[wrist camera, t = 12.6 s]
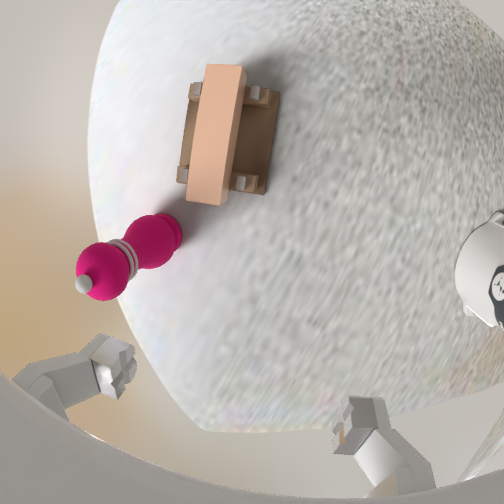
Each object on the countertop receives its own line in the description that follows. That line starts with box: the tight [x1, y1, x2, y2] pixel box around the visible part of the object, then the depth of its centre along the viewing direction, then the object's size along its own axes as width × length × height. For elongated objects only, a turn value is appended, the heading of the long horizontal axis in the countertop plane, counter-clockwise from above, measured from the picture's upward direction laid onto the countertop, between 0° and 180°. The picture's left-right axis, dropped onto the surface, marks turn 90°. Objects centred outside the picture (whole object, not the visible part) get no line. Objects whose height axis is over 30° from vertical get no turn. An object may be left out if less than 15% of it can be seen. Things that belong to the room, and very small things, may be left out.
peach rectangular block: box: [185, 64, 248, 206], centre depth 30 cm, size 4×16×4 cm, turn 171°
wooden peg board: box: [176, 82, 280, 195], centre depth 33 cm, size 12×14×6 cm
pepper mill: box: [75, 214, 182, 301], centre depth 32 cm, size 7×7×20 cm
